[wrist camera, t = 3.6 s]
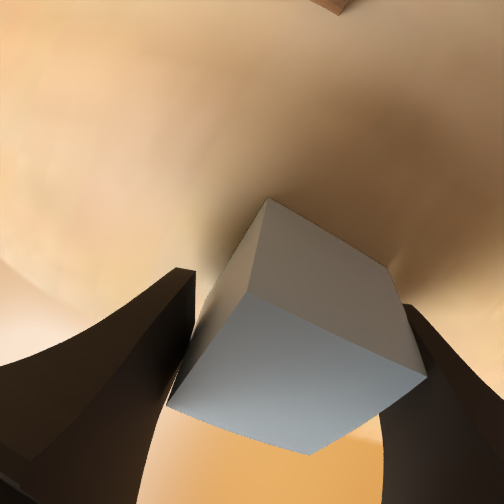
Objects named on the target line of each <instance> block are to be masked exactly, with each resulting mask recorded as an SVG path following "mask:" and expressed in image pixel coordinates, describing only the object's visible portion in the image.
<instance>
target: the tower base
mask: <svg viewBox="0 0 504 504" xmlns="http://www.w3.org/2000/svg"><path fill="white" fill-rule="evenodd" d="M311 1H313V2H315V3H317V4H318V5H320V6H322V7H324V8H326V9H328V10H330V11H331V12H333V13H335V14H337V15H338V16H339V14H340V13H341V11H342V10H343V8H344V7H345V5H346V4H347V2H348V1H349V0H311Z"/></svg>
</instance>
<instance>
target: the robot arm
mask: <svg viewBox="0 0 504 504" xmlns="http://www.w3.org/2000/svg"><path fill="white" fill-rule="evenodd" d="M195 287H196V271H193V270H188V269H182V268H177V267H176V268H174V269H173V270H172V271H170V272H169V273H167V274H166V275H165V276H163V277H162V278H161V279H159V280H158V281H157V282H156V283H154V284H153V285H152V286H150V287H149V288H148V289H146V290H145V291H144V292H142V293H141V294H140V295H138V296H137V297H135V298H134V299H133V300H131V301H130V302H129V303H127V304H126V305H124V306H123V307H121V308H120V309H118V310H117V311H115V312H114V313H112V314H111V315H109V316H108V317H106V318H105V319H103V320H102V321H100V322H99V323H97V324H95V325H94V326H92V327H90V328H88V329H87V330H85V331H83V332H81V333H79V334H77V335H75V336H74V337H72V338H70V339H68V340H66V341H64V342H62V343H59V344H57V345H55V346H53V347H50V348H48V349H46V350H44V351H42V352H39V353H37V354H35V355H32V356H30V357H27V358H24V359H21V360H19V361H16V362H13V363H10V364H7V365H3V366H0V504H136V502H137V496H138V492H139V488H140V483H141V478H142V475H143V471H144V467H145V463H146V459H147V455H148V451H149V448H150V444H151V441H152V437H153V434H154V430H155V427H156V424H157V421H158V418H159V415H160V413H161V410H162V408H163V405H164V403H165V401H166V398H167V396H168V393H169V391H170V389H171V387H172V384H173V382H174V380H175V377H176V375H177V373H178V371H179V368H180V365H181V363H182V360H183V357H184V355H185V353H186V350H187V347H188V345H189V342H190V339H191V335H192V332H193V328H194V325H195ZM402 305H403V308H404V310H405V313H406V315H407V320H408V322H409V324H410V327H411V329H412V332H413V334H414V337H415V340H416V343H417V346H418V349H419V352H420V355H421V358H422V361H423V364H424V367H425V370H426V373H427V376H428V377H427V378H426V379H425V380H423V381H422V382H421V383H420V384H418V385H417V386H416V387H414V388H413V389H412V390H411V391H409V392H408V393H407V394H405V395H404V396H403V397H401V398H400V399H399V400H397V401H396V402H394V403H393V404H392V405H390V406H389V407H387V408H386V409H385V410H383V411H382V412H380V413H379V417H380V424H381V431H382V438H383V448H384V474H383V491H382V503H381V504H504V400H503V399H502V398H501V397H500V396H498V395H497V394H496V393H495V392H494V391H493V390H492V389H491V388H490V387H489V386H488V385H487V384H485V383H484V382H483V381H482V380H481V379H480V378H479V377H478V376H477V375H476V373H475V372H474V371H473V370H472V369H471V368H470V367H469V366H468V365H467V364H466V363H465V362H464V361H463V360H462V359H461V358H460V356H459V355H458V354H457V353H456V352H455V351H454V350H453V349H452V348H451V346H450V345H449V344H448V343H447V342H446V341H445V340H444V339H443V337H442V336H441V335H440V334H439V333H438V332H437V331H436V330H435V328H434V327H433V326H432V325H431V324H430V323H429V322H428V321H427V320H426V319H425V317H424V316H423V315H422V314H421V313H420V312H419V311H418V310H417V309H416V308H415V307H413V306H412V305H410V304H402Z"/></svg>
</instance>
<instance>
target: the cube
mask: <svg viewBox="0 0 504 504" xmlns="http://www.w3.org/2000/svg"><path fill="white" fill-rule="evenodd" d="M427 377H428V376H427V373H426V370H425V367H424V364H423V361H422V358H421V355H420V352H419V349H418V346H417V343H416V340H415V337H414V334H413V332H412V329H411V327H410V324H409V322H408V320H407V315H406V313H405V310H404V308H403V305H402V303H401V300H400V297H399V295H398V292H397V290H396V288H395V285H394V283H393V280H392V278H391V276H390V273H389V271H388V269H387V268H386V267H384V266H383V265H381V264H379V263H378V262H376V261H375V260H373V259H371V258H370V257H368V256H367V255H365V254H363V253H362V252H360V251H359V250H357V249H355V248H354V247H352V246H351V245H349V244H347V243H346V242H344V241H342V240H341V239H339V238H337V237H336V236H334V235H332V234H331V233H329V232H327V231H326V230H324V229H322V228H321V227H319V226H317V225H316V224H314V223H312V222H311V221H309V220H307V219H305V218H304V217H302V216H300V215H299V214H297V213H295V212H293V211H292V210H290V209H288V208H286V207H285V206H283V205H281V204H279V203H278V202H276V201H274V200H272V199H271V198H269V197H268V198H267V199H266V201H265V203H264V204H263V206H262V207H261V209H260V211H259V212H258V214H257V216H256V217H255V219H254V221H253V222H252V224H251V225H250V227H249V229H248V230H247V232H246V234H245V235H244V237H243V239H242V240H241V242H240V244H239V245H238V247H237V249H236V250H235V252H234V254H233V255H232V257H231V258H230V260H229V262H228V263H227V265H226V267H225V268H224V270H223V272H222V273H221V275H220V277H219V278H218V280H217V282H216V283H215V285H214V287H213V288H212V290H211V292H210V293H209V295H208V297H207V298H206V300H205V302H204V305H203V307H202V310H201V312H200V315H199V318H198V320H197V323H196V325H195V328H194V331H193V333H192V336H191V339H190V342H189V345H188V347H187V350H186V353H185V355H184V357H183V360H182V363H181V365H180V368H179V371H178V374H177V376H176V379H175V382H174V384H173V387H172V390H171V393H170V396H169V398H168V401H167V404H166V406H168V407H170V408H172V409H174V410H177V411H179V412H181V413H184V414H186V415H188V416H191V417H193V418H196V419H198V420H201V421H203V422H206V423H208V424H211V425H213V426H216V427H219V428H222V429H224V430H227V431H230V432H233V433H235V434H238V435H241V436H244V437H247V438H250V439H253V440H257V441H260V442H263V443H266V444H269V445H273V446H277V447H280V448H283V449H287V450H290V451H294V452H298V453H302V454H306V455H311V454H313V453H315V452H317V451H319V450H320V449H322V448H324V447H326V446H328V445H329V444H331V443H333V442H334V441H336V440H338V439H340V438H341V437H343V436H345V435H346V434H348V433H350V432H351V431H353V430H354V429H356V428H358V427H359V426H361V425H362V424H364V423H365V422H367V421H368V420H370V419H371V418H373V417H374V416H376V415H377V414H379V413H380V412H382V411H383V410H385V409H386V408H387V407H389V406H390V405H392V404H393V403H394V402H396V401H397V400H399V399H400V398H401V397H403V396H404V395H405V394H407V393H408V392H409V391H411V390H412V389H413V388H414V387H416V386H417V385H418V384H420V383H421V382H422V381H423V380H425V379H426V378H427Z"/></svg>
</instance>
